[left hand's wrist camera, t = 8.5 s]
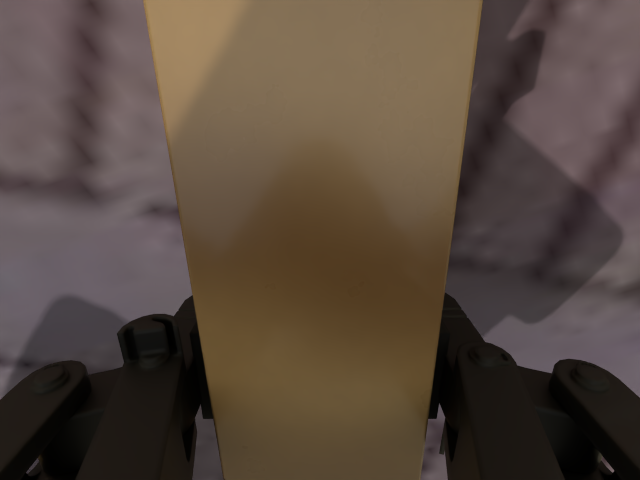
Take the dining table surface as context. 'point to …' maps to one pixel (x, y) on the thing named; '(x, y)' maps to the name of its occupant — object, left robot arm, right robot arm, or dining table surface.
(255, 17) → the beam
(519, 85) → the dining table surface
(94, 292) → the dining table surface
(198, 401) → the left robot arm
